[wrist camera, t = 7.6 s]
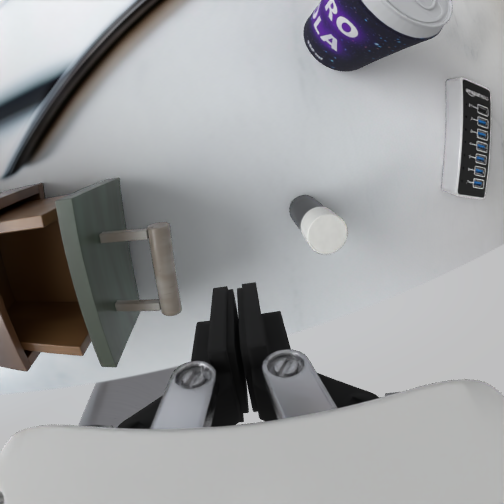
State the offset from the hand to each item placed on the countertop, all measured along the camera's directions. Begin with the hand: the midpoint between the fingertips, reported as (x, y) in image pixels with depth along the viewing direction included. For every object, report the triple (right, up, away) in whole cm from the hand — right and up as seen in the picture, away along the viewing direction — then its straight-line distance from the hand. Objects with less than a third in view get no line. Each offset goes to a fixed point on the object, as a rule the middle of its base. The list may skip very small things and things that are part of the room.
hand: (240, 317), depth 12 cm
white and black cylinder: (+5, +6, +12) cm, 14 cm away
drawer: (-14, +3, +11) cm, 18 cm away
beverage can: (+7, +19, +7) cm, 22 cm away
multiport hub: (+20, +13, +11) cm, 27 cm away
